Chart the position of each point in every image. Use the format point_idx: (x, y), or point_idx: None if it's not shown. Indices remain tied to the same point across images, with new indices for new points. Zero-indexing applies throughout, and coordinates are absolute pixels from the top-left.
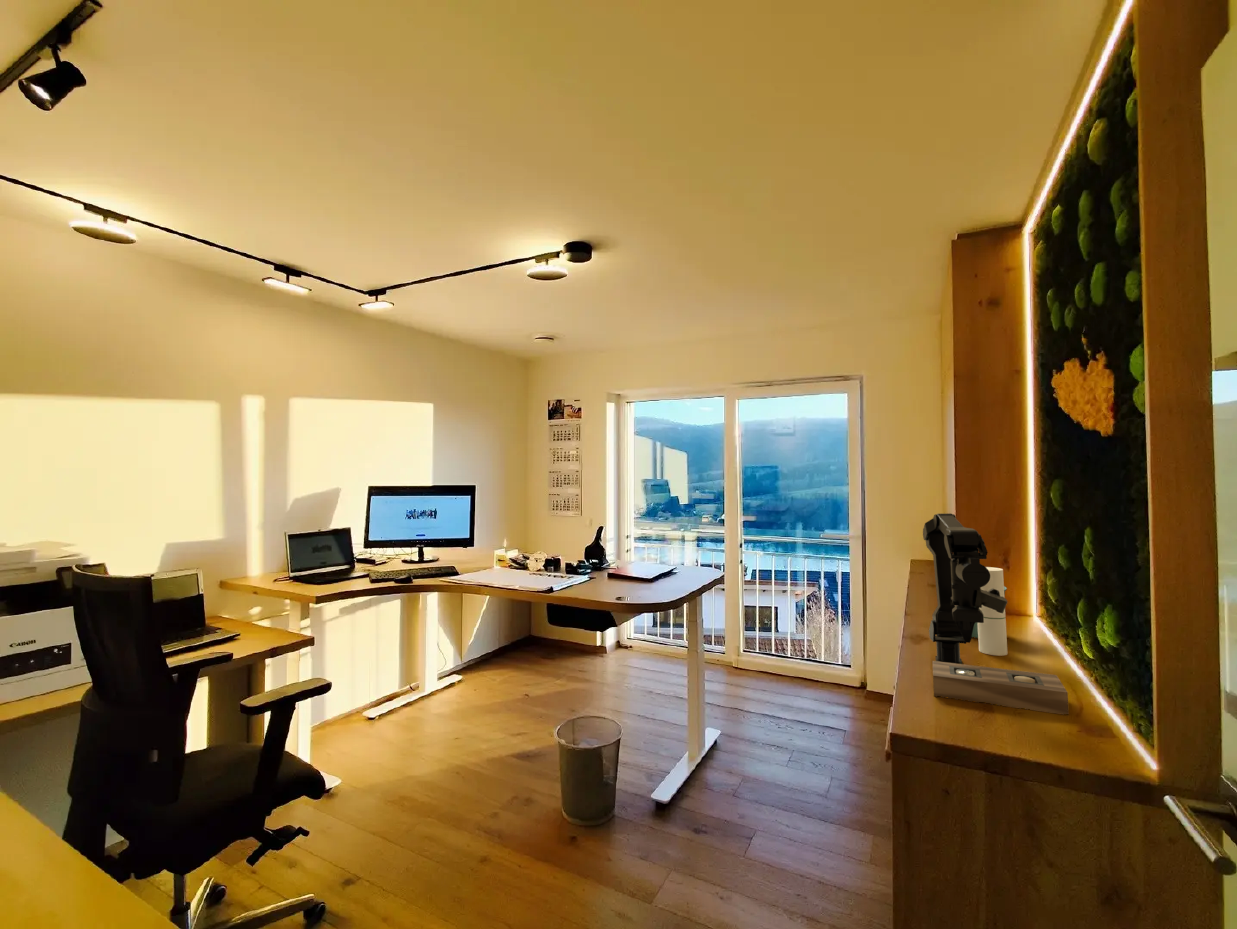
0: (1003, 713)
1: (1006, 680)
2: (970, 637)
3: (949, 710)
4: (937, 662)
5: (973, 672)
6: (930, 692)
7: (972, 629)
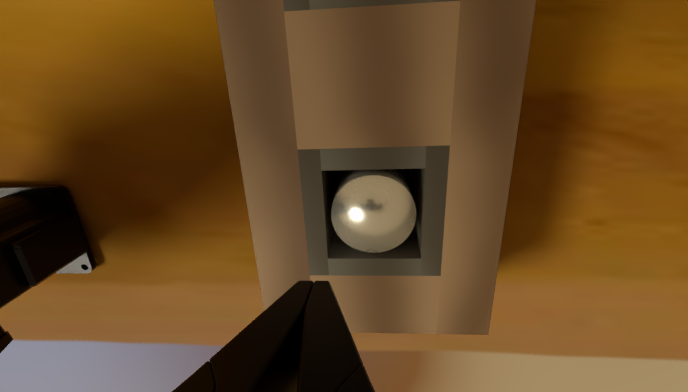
0: (579, 56)
1: (448, 17)
2: (341, 313)
3: (596, 238)
4: None
5: (363, 180)
6: None
7: (368, 386)
